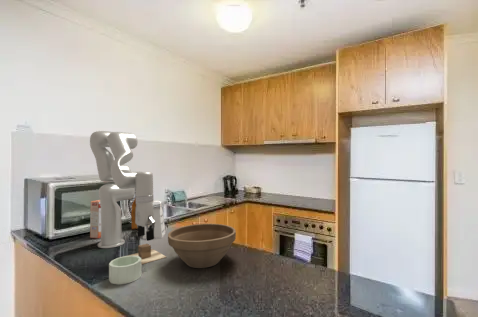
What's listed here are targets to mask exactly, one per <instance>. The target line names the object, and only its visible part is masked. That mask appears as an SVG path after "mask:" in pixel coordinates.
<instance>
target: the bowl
mask: <svg viewBox="0 0 478 317" xmlns="http://www.w3.org/2000/svg"><path fill="white" fill-rule="evenodd" d="M131 255H132V254H131ZM142 266H143V265H142V260H141V257H139V256H133V255H132V256H128V255H124V256H120V257H117V258H115V259H112V260H111V261H110V262H109V263H108V282H110V284H114V285H126V284H129V283H132V282H136V281H137V280H138V279H141V276H142V273H143V272H142V268H143V267H142Z"/></svg>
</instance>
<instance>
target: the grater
mask: <svg viewBox="0 0 478 317" xmlns="http://www.w3.org/2000/svg"><path fill="white" fill-rule="evenodd" d="M153 201H154V202H153V203H155V202H157V203H159V204H160V205H159V206H160V207H158V206H157V207H153V211H154V221H155V225H154V226H155V227H154V239H162V238H164V236H165V234H166V228H165V227H166V226H165V219H164V211H163V207H162V206H163V205H162V201H161V200H153ZM144 227H145V235H144V236H142V239H143V240H144V239H145V240H146V231H147V229H146V226H144ZM148 227H149V226H148Z"/></svg>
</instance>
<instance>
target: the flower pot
mask: <svg viewBox="0 0 478 317" xmlns="http://www.w3.org/2000/svg"><path fill="white" fill-rule="evenodd" d="M236 233H237V232H236V229H235V228H234V227H232V226H231V225H227V224H222V223H221V224H220V223H198V224H197V223H196V224H189V225H184V226H180V227H177V228H175V229H171V230H170V231H169V232H168V233H167V241H168V242H167V244H168V245H169V246H170V248H172V249H173V250H174V252H175V254H176V255H177V256H178V258H179V259H181V260H182V261H183V262H184V263H185V264H186V265H187V266H188V267H190V268H195V269H205V268H211V267H214V266H216V265H217V264H219V263H220V261H221V260H222V259H223V258H224V257H225V255H226V254H227V253H228V251H229V250H230V248H231V246H232V244H233V243H234V242H235V241H236V237H237V235H236Z"/></svg>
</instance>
